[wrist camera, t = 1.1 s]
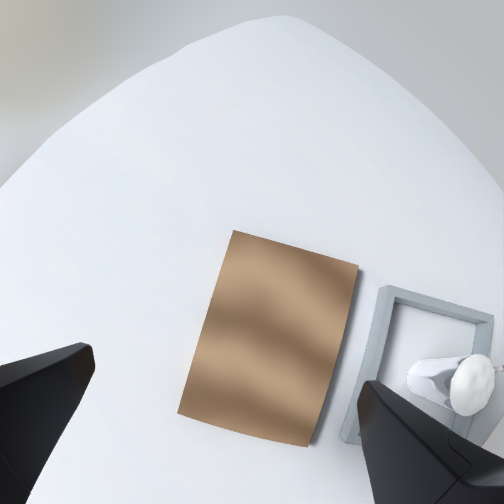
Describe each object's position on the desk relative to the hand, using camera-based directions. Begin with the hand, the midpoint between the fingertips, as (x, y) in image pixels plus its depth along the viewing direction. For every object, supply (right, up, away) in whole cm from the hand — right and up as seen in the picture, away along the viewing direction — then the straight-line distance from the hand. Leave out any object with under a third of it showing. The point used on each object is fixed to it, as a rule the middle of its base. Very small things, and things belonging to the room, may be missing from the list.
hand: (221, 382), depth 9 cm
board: (+2, -3, +15) cm, 16 cm away
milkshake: (+17, -7, +14) cm, 23 cm away
